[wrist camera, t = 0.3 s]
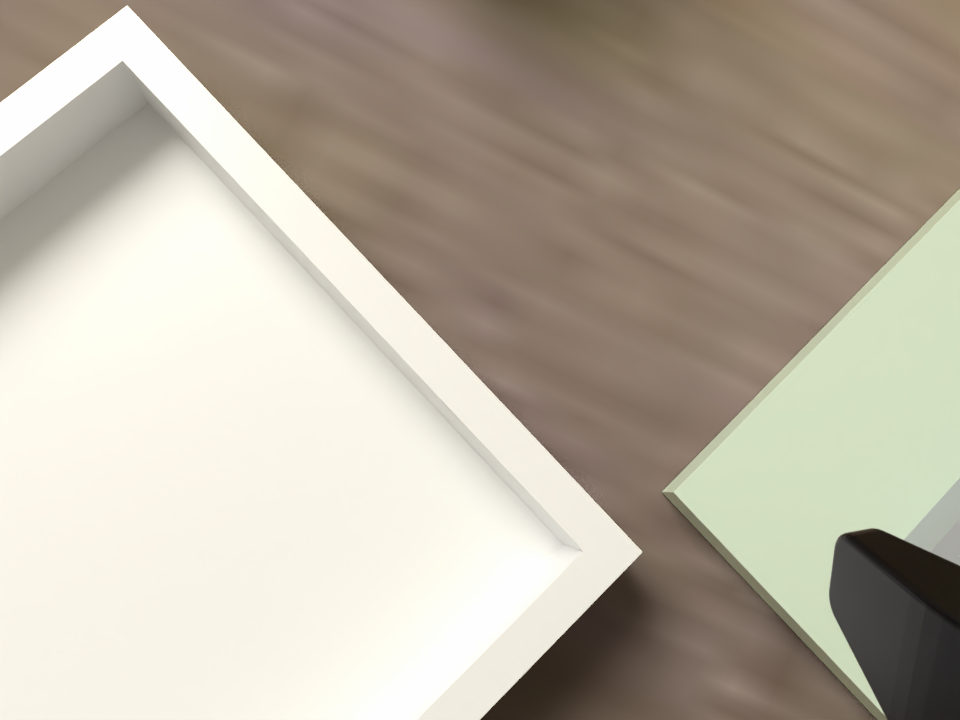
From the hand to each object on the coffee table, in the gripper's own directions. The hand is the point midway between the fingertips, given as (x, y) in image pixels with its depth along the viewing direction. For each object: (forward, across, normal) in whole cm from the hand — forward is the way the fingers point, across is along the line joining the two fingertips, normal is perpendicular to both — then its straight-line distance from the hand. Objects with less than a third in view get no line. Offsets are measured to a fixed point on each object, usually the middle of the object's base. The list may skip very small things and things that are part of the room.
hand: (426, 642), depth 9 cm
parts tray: (+13, +7, +7) cm, 16 cm away
